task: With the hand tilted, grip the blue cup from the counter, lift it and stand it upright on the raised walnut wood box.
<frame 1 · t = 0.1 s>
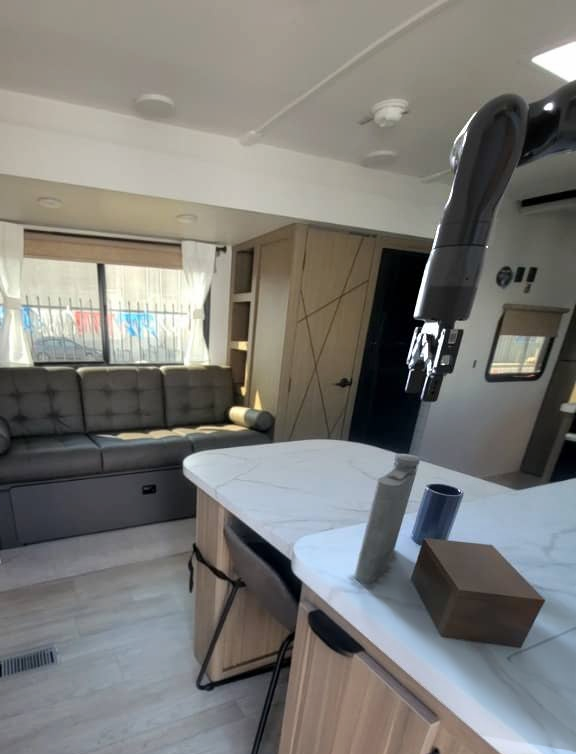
hand: (419, 396, 67), 28 cm above the table, tool pointing down, fingers open, 8 cm apart
walnut wood box: (459, 609, 61), on the table
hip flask: (376, 563, 73), on the table
blue cup: (428, 540, 80), on the table
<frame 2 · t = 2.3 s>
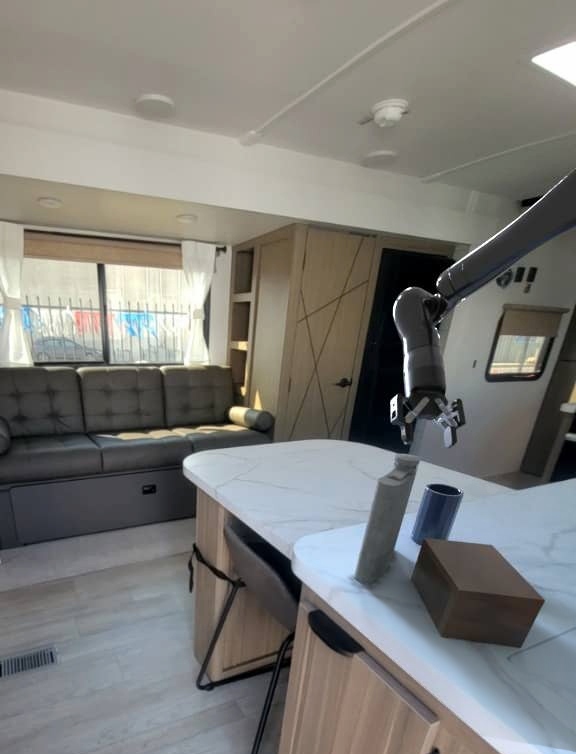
hand: (429, 444, 82), 17 cm above the table, tool tilted 40°, fingers open, 8 cm apart
nothing on the table moved.
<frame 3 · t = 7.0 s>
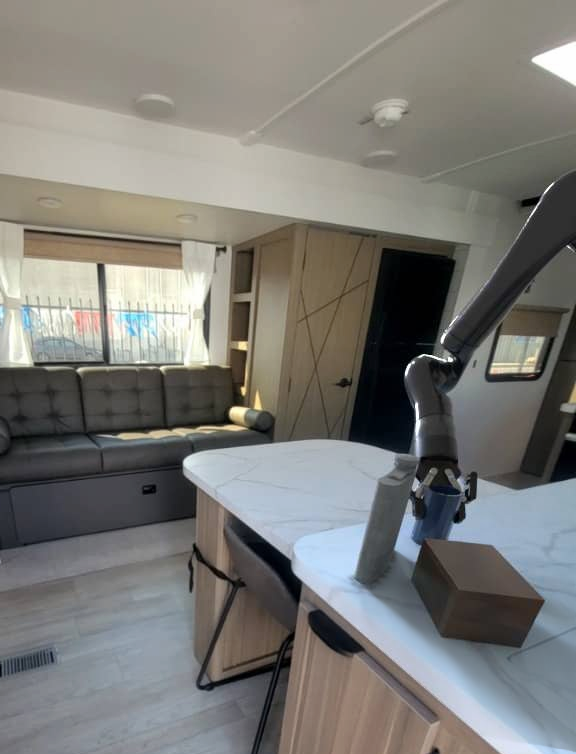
hand: (439, 520, 77), 5 cm above the table, tool tilted 45°, fingers closed on blue cup, 6 cm apart
blue cup: (428, 540, 80), on the table, touching gripper
everything else where it was.
when the fingers open (13 cm above the table, at t = 17.3 s): blue cup stays where it is, resting on walnut wood box.
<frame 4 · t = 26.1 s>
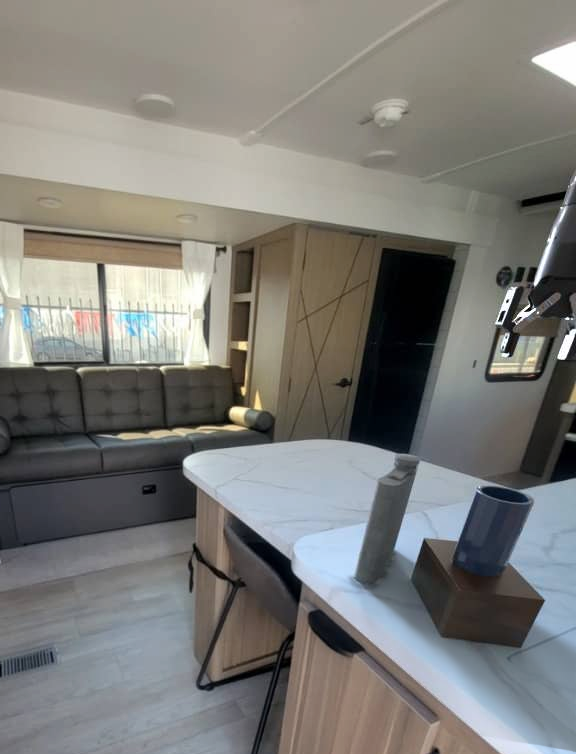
hand: (534, 358, 68), 34 cm above the table, tool pointing down, fingers open, 8 cm apart
blue cup: (476, 564, 58), point 8 cm above the table, touching walnut wood box
everything else where it was.
at the end: blue cup inside the target area on the walnut wood box (0.1 cm from its centre), point 8.0 cm above the walnut wood box's base; blue cup tilted 0°; the gripper is holding nothing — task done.
